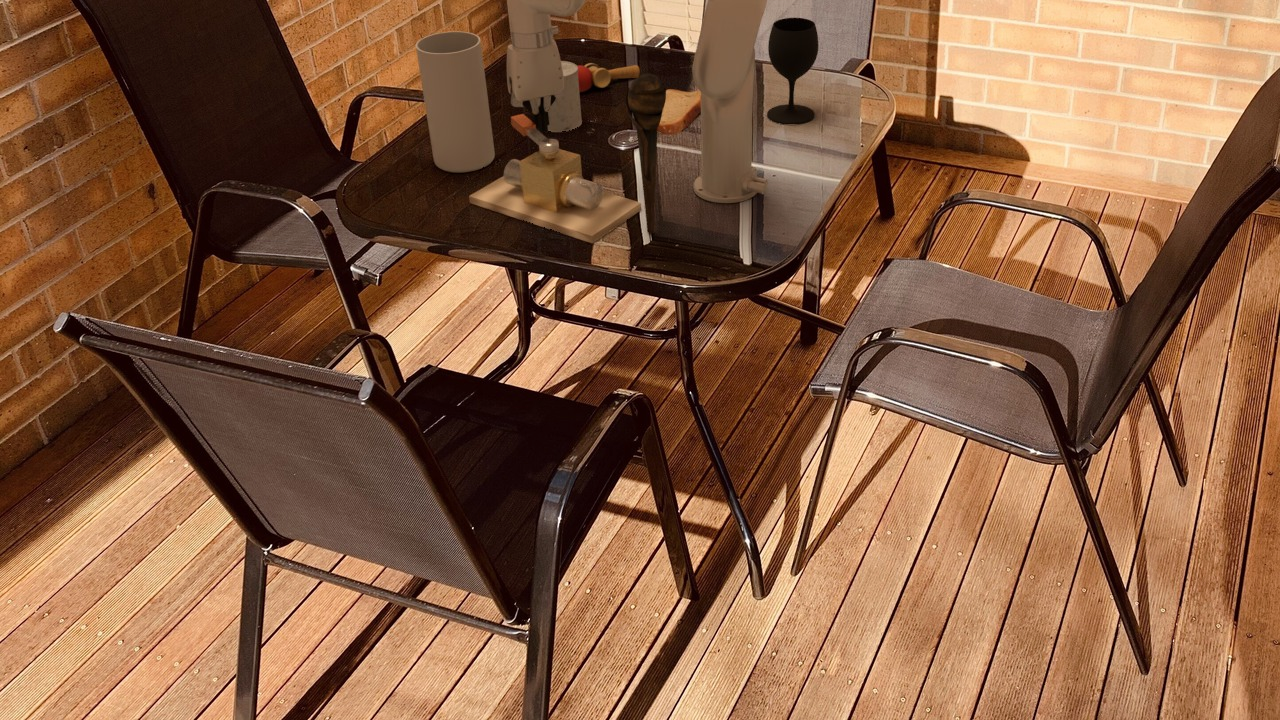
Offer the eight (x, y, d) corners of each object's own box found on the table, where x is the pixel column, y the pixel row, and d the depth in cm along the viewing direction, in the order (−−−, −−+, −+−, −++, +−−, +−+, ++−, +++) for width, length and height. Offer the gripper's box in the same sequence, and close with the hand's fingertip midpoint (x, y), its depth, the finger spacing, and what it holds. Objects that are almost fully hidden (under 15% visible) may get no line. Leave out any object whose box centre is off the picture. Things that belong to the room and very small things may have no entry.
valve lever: (562, 152, 209) (561, 143, 208) (544, 157, 208) (543, 148, 207) (526, 121, 221) (525, 113, 220) (509, 126, 220) (508, 117, 219)
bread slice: (663, 139, 240) (663, 122, 238) (623, 111, 253) (622, 95, 251) (735, 119, 247) (735, 103, 245) (692, 93, 260) (692, 77, 258)
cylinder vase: (461, 179, 227) (444, 58, 213) (422, 163, 234) (402, 45, 220) (507, 158, 235) (493, 39, 220) (468, 142, 242) (451, 27, 227)
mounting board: (641, 209, 214) (641, 202, 213) (592, 243, 204) (592, 236, 203) (520, 173, 229) (520, 166, 228) (469, 202, 219) (468, 196, 218)
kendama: (626, 76, 273) (559, 83, 265) (630, 52, 269) (562, 58, 260) (642, 92, 268) (574, 99, 260) (646, 67, 264) (577, 74, 256)
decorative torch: (631, 226, 208) (623, 69, 191) (668, 223, 209) (663, 65, 192) (634, 244, 203) (626, 84, 186) (672, 241, 203) (668, 80, 186)
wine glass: (824, 116, 245) (830, 25, 234) (788, 129, 241) (791, 36, 229) (793, 102, 252) (796, 12, 241) (756, 114, 248) (758, 23, 236)
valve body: (608, 203, 213) (605, 157, 207) (582, 221, 208) (578, 173, 202) (527, 179, 223) (522, 134, 217) (500, 195, 218) (494, 149, 212)
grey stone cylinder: (576, 133, 244) (571, 78, 237) (533, 131, 245) (527, 76, 238) (586, 115, 251) (582, 61, 244) (544, 113, 253) (539, 60, 246)
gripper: (561, 23, 215) (569, 115, 225) (486, 38, 210) (498, 131, 220) (576, 35, 209) (584, 128, 219) (500, 51, 204) (511, 145, 215)
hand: (541, 129), depth 220 cm, fingers closed
